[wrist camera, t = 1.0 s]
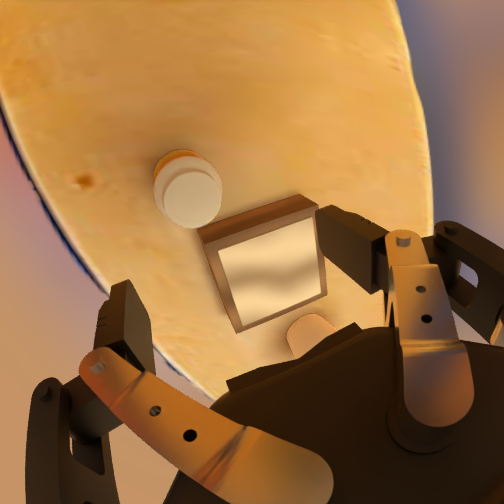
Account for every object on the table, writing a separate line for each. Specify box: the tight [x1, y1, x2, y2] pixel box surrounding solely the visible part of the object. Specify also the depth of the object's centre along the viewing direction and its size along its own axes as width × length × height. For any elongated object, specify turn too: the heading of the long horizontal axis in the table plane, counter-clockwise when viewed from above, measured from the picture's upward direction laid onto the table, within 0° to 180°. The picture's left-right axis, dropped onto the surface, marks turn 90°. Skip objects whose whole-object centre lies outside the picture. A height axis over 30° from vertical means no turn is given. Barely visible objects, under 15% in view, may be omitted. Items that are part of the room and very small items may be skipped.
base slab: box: [197, 194, 327, 334], centre depth 32 cm, size 12×12×4 cm
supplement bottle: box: [153, 149, 223, 229], centre depth 23 cm, size 5×5×10 cm
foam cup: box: [286, 314, 338, 359], centre depth 37 cm, size 10×9×13 cm
